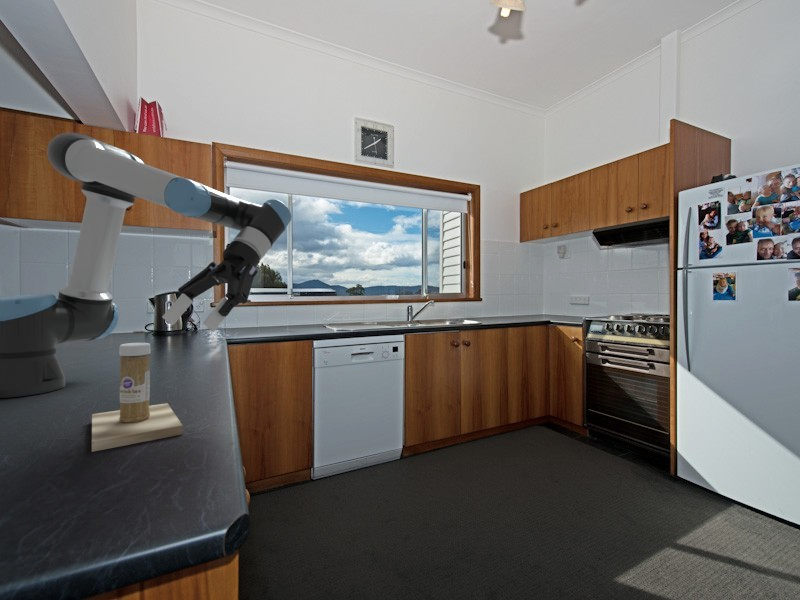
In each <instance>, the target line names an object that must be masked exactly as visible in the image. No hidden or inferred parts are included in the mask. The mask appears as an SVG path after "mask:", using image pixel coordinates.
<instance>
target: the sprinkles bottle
mask: <svg viewBox="0 0 800 600" xmlns="http://www.w3.org/2000/svg"><path fill="white" fill-rule="evenodd" d="M151 349H152V348H151V343H148V342H129V343H122V344H120V345H119V349H118V350H119V351H118V354H119V358H120V367H119V368H120V374H119V376H120V379H119V382H120V383H119V410H120V418H119V420H120V421H121V422H138V421H142V420H145V419H147V418H148V417H149V416H150V413H149V406H150V397H151V395H150V394H151V393H150V392H151V390H150V388H151V387H150V381H151V380H150V375H151V374H150V372H151V370H150V356H151V352H152V351H151Z"/></svg>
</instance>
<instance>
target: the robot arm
mask: <svg viewBox="0 0 800 600" xmlns="http://www.w3.org/2000/svg"><path fill="white" fill-rule="evenodd" d="M46 153H47V159H48V161H49V162H50V164H51V166H52V168H54V170H56V171H57V172H58V173H59V174H60V175H62V176H64V177H65V178H67V179H69V180H72V181H75V182H78V183H80V184H82V185H81V189H80V191H81V192H82V194H83V195H84V196H85V197H86V201H85V207H84V212H83V215H82V220H81V225H80V229H79V235H78V239H77V245H76V247H75V252H74V257H73V262H72V267H71V273H70V276H69V281H68V284H67V285H66V286H64V287H62V288H60V289H59V290H58V295H57V296H56V295H55V294H52V293H51V294H49V293H42V294H39V293H38V294H29V295H27V294H23V295H13V296H12V295H11V296H4V297H0V399H3V398H4V399H7V398H17V397H26V396H33V395H39V394H44V393H49V392H54V391H57V390H61V389H64V388H65V387H66V376H65V374H64V372H63V369H62V367H61V365H60V363H59V360H58V358H57V344H58V345H59V344H68V343H75V342H77V343H78V342H90V341H95V340H99V339H104V338H105V337H107V336H109V335H111V334H112V333H113V332H114V331H115V329H116V328H117V326H118V323H119V318H120V313H119V310H118V306H117V304H116V303H114V301H113V299H114V296H113V295H112V294H111V293H110V292H109V291H108V290H109V286H110V283H111V282H110V281H111V277H112V274H113V269H114V264H115V259H116V254H117V250H118V246H119V243H120V242H119V241H120V236H121V233H122V232H121V231H122V228H123V223H124V219H125V215H126V210H127V208H129V207H131V206H133V205H135V200H136V199H137V198H140V199H143V200H146V201H149V202H151V203H154V204H156V205H158V206H162V207H165V208H167V209H169V210H171V211H173V212H174V213H176V214H179V215H182V216H185V217H187V218H193V219H197V220H201V221H205V222H207V223H212V224H214V225H219V226H222V227H225V228H230V229H233V230H236V231H239V232H238V233H237V234H236V235H235V237H234V238H233V239H232V240H233V241H231V242H230V243H229V244H228V245H227V246H226V248H225V249H224V250H223V252H222V258H223V261H222V262H220V263H219V264H216V263H215V262H214V261H212V262H210V263H209V264H208V265H207V266H206V267H205V268H204V269H202V271H200V272H198V274H195V275H194V276H193V277H192V278H191V279H189V280H188V281H186V283H185V282H184V284H183V285H182V286H180V287H178V289H177V291H178V292H179V293H180V296H178V298H177V299H176V300H175V301H174V302H173V303H172V305H171V306H170V307H169V308H168V309H167V310H166V312H165V313H164V314H163V315H162V317H161V318H162V319H163V320H165V321H166V322H167V323H169V324H170V325H172V326H174V325H175V324H176V323H177V321H178V320H179V319H180V318H181V317H182V315H184V313H185V312H186V311H187V310H188V309H189V307H190V306H191V305H192V303H194V299H195V298H197V297H198V296H200V295H202V294H204V293H205V292H206V291H208V290H210V289H211V288H213V287H215V286H221V284H227V287H226V290H227V291H226V294H224V296H225V297H222V298H221V299H220V300H219V301H218V302H217V304H216V306H215V307H214V308H213V309H212V310H211V311H210V313H209V314H208V316H207V317H206V318H205V320H203V322H202V324H203V325H204V326H205V327H206V328H208V330H210V331H211V332H214V333H215V332H216V331H217V329H218V328H219V326H220V325H221V324H222V322H224V320H225V318H226V317H227V316H228V315H229V314H230V313H231V311H232V310H233V309H234V307H235V306H238V305H239V304H241V303H242V304H243V305H245V304H246V303H247V302H248V300H249V296H250V292H251V289H252V285H253V281H254V279H255V277H256V275H257V274H258V272H259V270H258V269H257V266H258V265H259V263H260V262H261V260H262V259H263V258H264V257H265V256H266V254H267V253H268V251H269V250H270V249H271V248H272V246H273V244H275V242H276V241H277V240H278V239H279V237H280V236H281V235H282V234H283V233H284V232H285V231H286V230H287V229H286V228H287V227H288V226H289V225H290V223H291V221H292V218H293V217H292V216H293V215H292V212H291V210H290V208H289V207H288V206H287V205H286V203H284V202H283V201H281V200H279V199H276V198H271V199H270V198H269V199H267V200H266V201H265V202H263V204H257V203H254V202H250V201H246V200H244V199H241V198H238V197H235V196H232V195H230V194H227V193H224V192H222V191H219V190H217V189H214V188H212V187H209V186H207V185H204V184H203V183H201V182H199V181H196V180H194V179H191V178H185V177H183V176H179V175H177V174H175V173H171V172H168V171H165V170H163V169H160V168H156V167H154V166H152V165H148V164H146V163H145V162H144V161H143V160H142V159H141V158H139V157H137V155H135V154H131V153H130V152H129V151H128V150H127V151H126V150H124V149H122V148H119V147H116V146H114V145H111V144H110V143H109V144H108V143H107V142H103V141H101V140H98V139H96V138H94V137H92V136H89V135H86V134H82V133H79V132H78V133H77V132H64V133H59V134H57V135H56V136H54V137H53V138H52V139H51V140H50V141H49V143H48V145H47V149H46ZM56 297H57V298H56Z"/></svg>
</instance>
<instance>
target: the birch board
mask: <svg viewBox="0 0 800 600" xmlns="http://www.w3.org/2000/svg"><path fill="white" fill-rule="evenodd" d="M149 413H150V416H149V417H148V418H147V419H145V420H142V421H138V422H121V421H120V420H119V418H120V409H118V410H112V411H105V412H98V413H92V414H91V452H92V453H93V452H99V451H104V450H108V449H113V448H114V449H115V448H119V447H124V446H129V445H133V444H139V443H144V442H149V441H155V440H160V439H165V438H169V437H174V436H175V437H176V436H180V435H183V433H184V432H183V427H184V426H183V423H181V421H180V420H179V418H178V416H177V415H176V413H175V411H173V409H172V408H171V406H170V405H169V403H168V402H166V403H161V404H160V403H159V404H152V405H149Z"/></svg>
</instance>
